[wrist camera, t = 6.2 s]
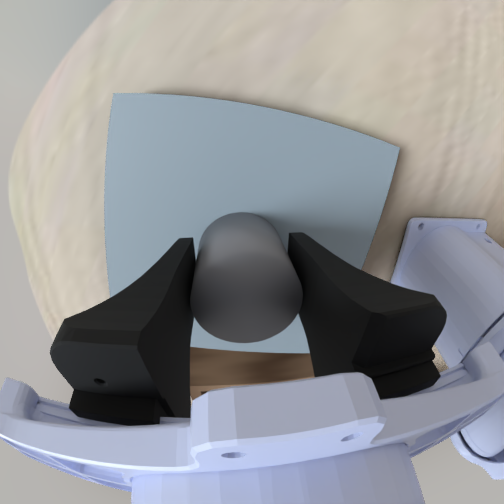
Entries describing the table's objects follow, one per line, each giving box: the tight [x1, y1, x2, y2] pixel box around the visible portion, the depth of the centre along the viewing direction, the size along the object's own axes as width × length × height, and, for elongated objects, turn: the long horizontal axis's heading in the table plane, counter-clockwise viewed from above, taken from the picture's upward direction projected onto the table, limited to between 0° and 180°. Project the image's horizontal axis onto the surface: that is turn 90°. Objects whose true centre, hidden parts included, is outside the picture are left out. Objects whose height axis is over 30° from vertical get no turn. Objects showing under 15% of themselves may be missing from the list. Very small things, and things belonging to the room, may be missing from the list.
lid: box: [104, 93, 400, 353], centre depth 12 cm, size 14×14×6 cm
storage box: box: [190, 347, 315, 400], centre depth 22 cm, size 12×12×4 cm
